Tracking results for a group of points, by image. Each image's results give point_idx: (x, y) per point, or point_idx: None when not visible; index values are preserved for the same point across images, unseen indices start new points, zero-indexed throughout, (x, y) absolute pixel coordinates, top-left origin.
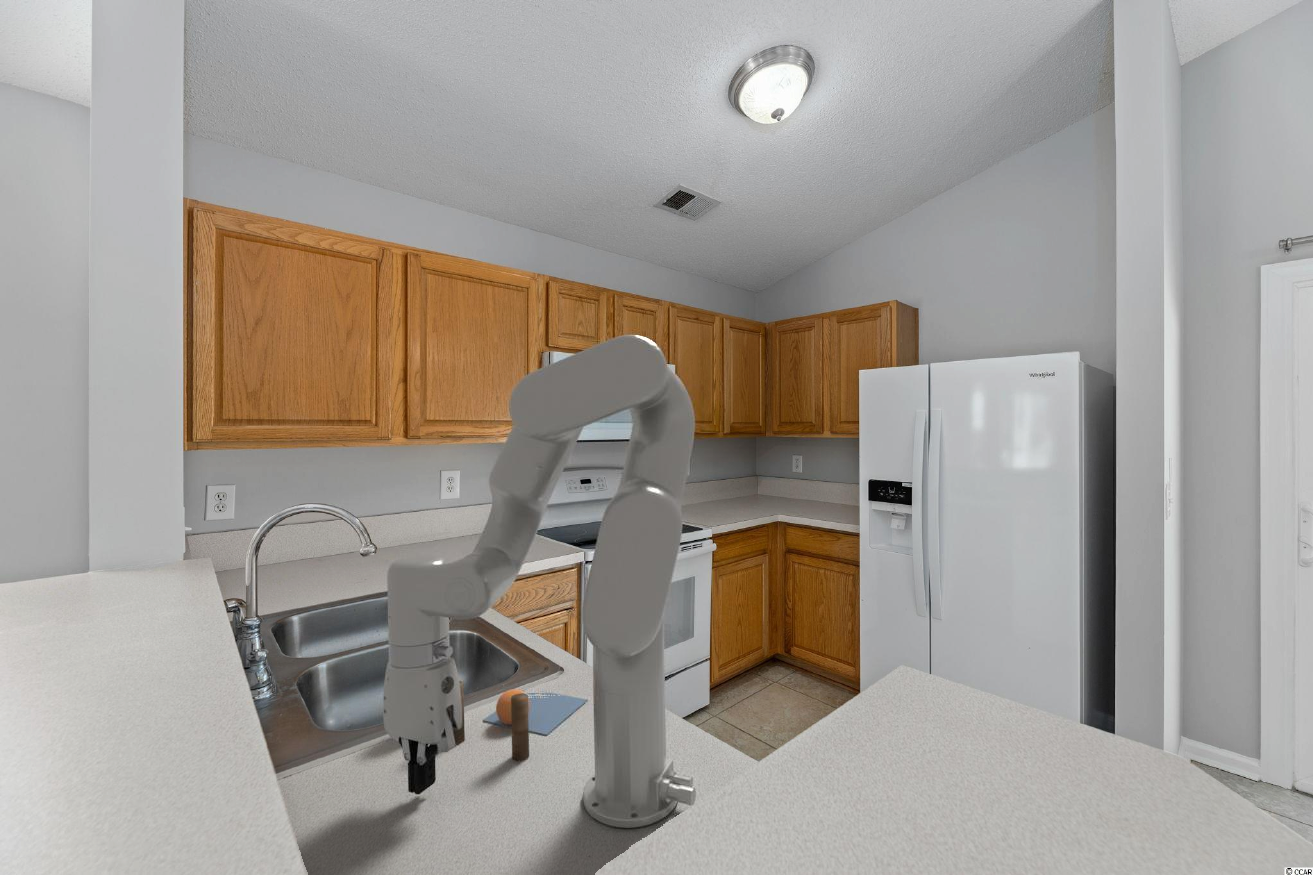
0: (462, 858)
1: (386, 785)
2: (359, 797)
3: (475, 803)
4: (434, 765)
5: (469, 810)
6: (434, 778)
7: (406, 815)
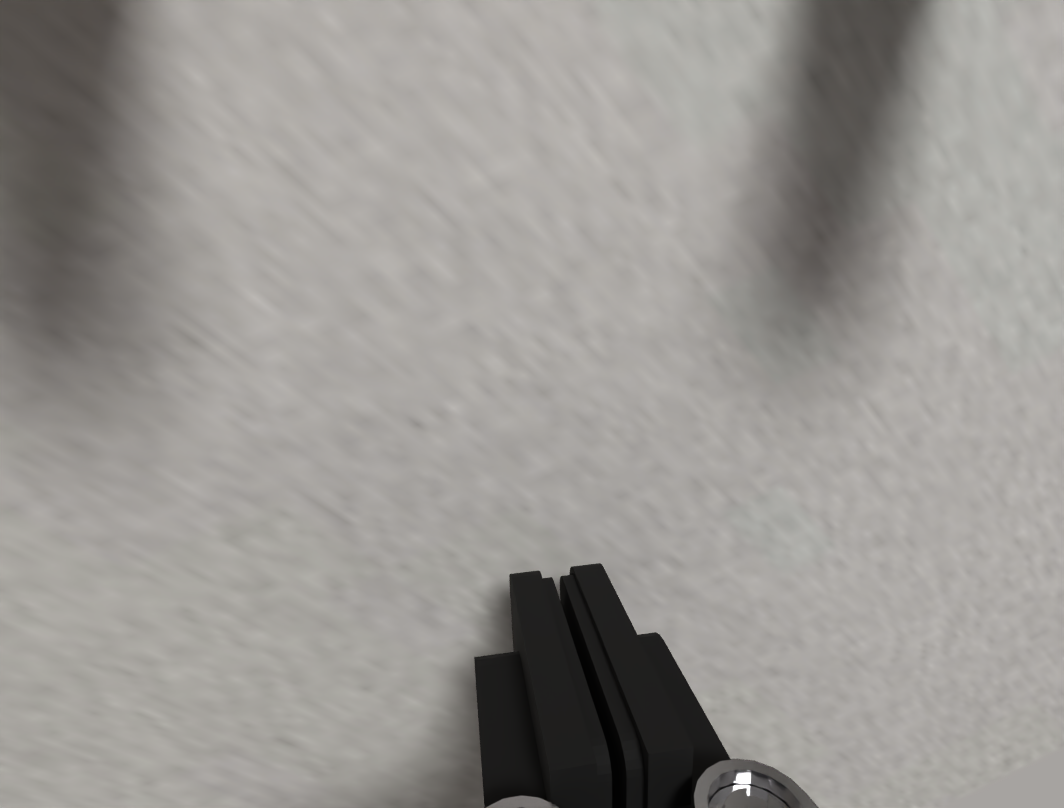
0: (1020, 743)
1: (176, 620)
2: (146, 768)
3: (876, 474)
4: (703, 714)
5: (878, 531)
6: (659, 636)
7: None
